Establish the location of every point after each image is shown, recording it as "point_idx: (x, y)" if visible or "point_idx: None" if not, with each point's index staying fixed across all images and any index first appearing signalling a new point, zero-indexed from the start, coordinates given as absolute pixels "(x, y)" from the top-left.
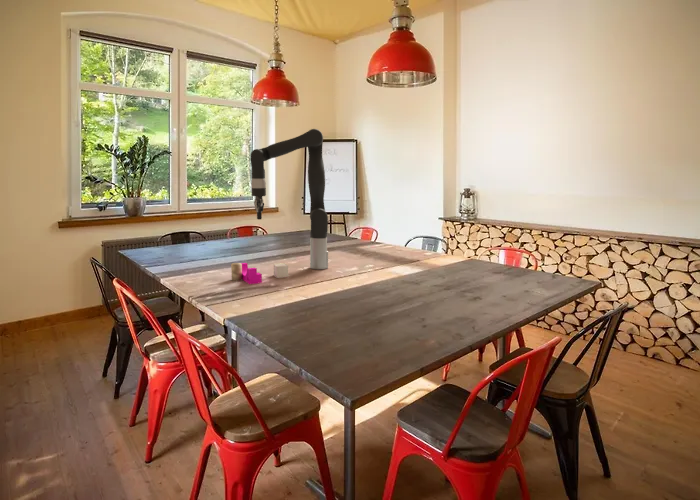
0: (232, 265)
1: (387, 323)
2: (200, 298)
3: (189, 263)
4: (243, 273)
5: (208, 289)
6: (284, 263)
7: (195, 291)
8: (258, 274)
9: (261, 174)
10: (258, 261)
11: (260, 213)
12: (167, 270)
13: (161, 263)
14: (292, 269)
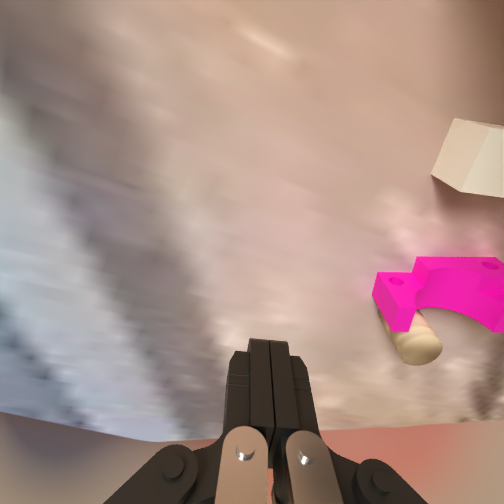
0: (422, 362)
1: None
2: (495, 411)
3: (70, 362)
4: (419, 306)
5: (437, 386)
6: (494, 131)
7: (431, 408)
8: None
9: None
10: (98, 117)
11: (316, 432)
12: (161, 417)
13: (50, 416)
14: (391, 18)
